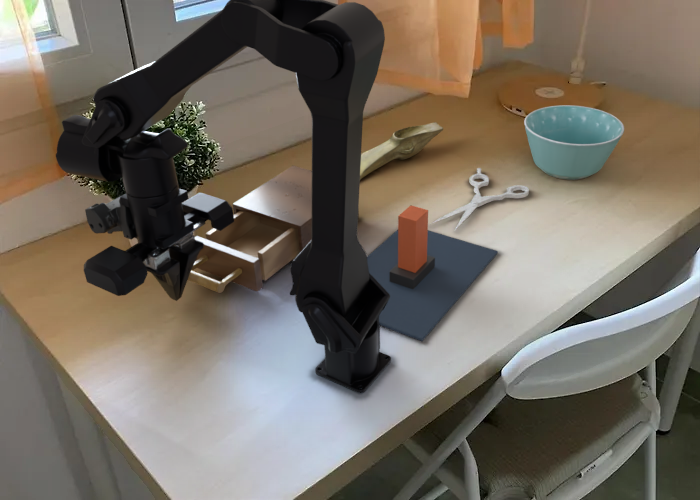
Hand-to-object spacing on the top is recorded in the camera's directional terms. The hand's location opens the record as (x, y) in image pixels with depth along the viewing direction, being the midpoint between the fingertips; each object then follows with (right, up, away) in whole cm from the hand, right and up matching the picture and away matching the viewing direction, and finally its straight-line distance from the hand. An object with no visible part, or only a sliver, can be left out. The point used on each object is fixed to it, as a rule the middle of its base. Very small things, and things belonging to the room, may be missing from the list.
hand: (175, 298), depth 87 cm
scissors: (+41, +13, +24) cm, 49 cm away
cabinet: (+14, +9, +19) cm, 25 cm away
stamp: (+30, +3, +8) cm, 31 cm away
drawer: (+7, +4, +10) cm, 13 cm away
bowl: (+58, +20, +33) cm, 70 cm away
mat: (+30, +2, +8) cm, 31 cm away
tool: (+28, +22, +38) cm, 52 cm away
